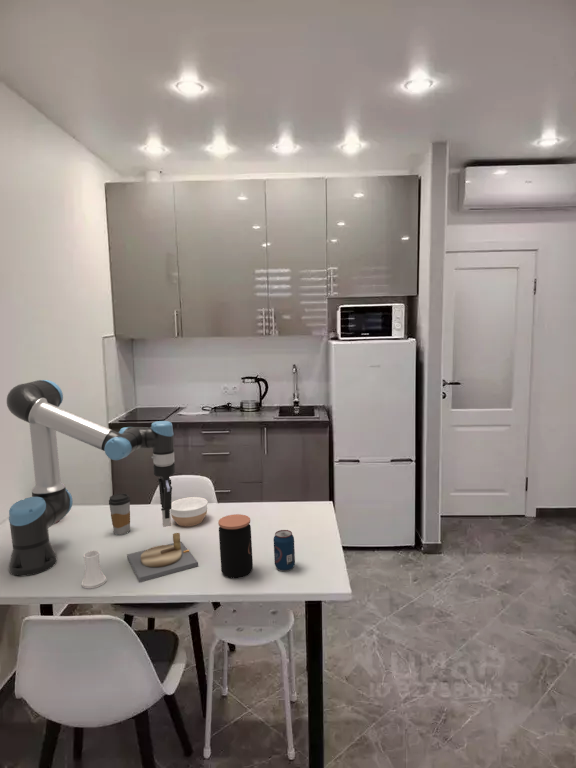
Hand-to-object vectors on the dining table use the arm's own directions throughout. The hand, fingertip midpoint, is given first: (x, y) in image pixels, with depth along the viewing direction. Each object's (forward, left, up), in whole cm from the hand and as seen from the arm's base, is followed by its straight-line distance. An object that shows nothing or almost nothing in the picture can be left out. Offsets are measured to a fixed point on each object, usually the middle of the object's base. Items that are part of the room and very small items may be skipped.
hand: (166, 525), depth 189 cm
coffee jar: (+15, -30, -10) cm, 35 cm away
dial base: (-5, -9, -9) cm, 14 cm away
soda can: (+30, -36, -10) cm, 48 cm away
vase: (-28, -11, -10) cm, 31 cm away
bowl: (+15, +22, -10) cm, 29 cm away
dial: (-5, -9, -8) cm, 13 cm away
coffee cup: (-12, +27, -10) cm, 31 cm away
